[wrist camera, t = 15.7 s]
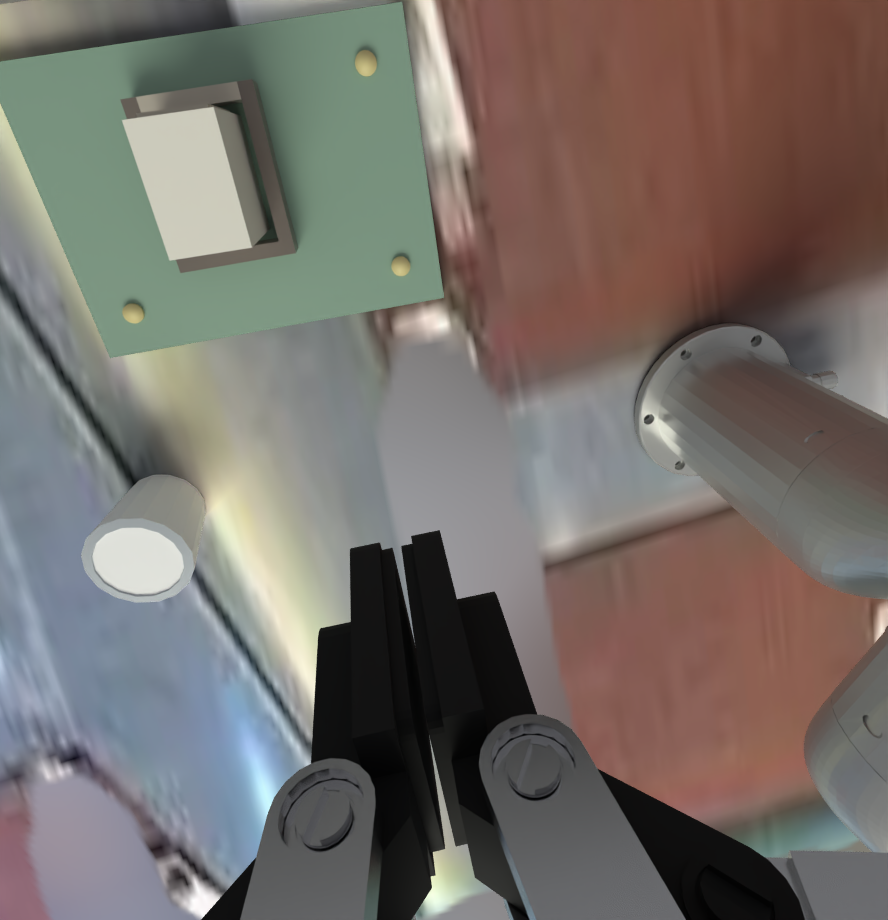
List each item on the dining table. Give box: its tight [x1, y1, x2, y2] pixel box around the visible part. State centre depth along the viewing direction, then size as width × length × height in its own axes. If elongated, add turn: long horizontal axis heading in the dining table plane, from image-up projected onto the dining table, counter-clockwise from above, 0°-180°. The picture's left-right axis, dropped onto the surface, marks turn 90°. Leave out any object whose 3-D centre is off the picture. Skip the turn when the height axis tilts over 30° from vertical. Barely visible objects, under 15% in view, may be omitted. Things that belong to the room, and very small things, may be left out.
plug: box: [122, 103, 270, 261], centre depth 31 cm, size 4×6×8 cm, turn 8°
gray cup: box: [81, 475, 206, 603], centre depth 42 cm, size 7×7×7 cm
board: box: [0, 2, 444, 358], centre depth 35 cm, size 22×16×1 cm
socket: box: [120, 79, 298, 273], centre depth 34 cm, size 7×9×2 cm
